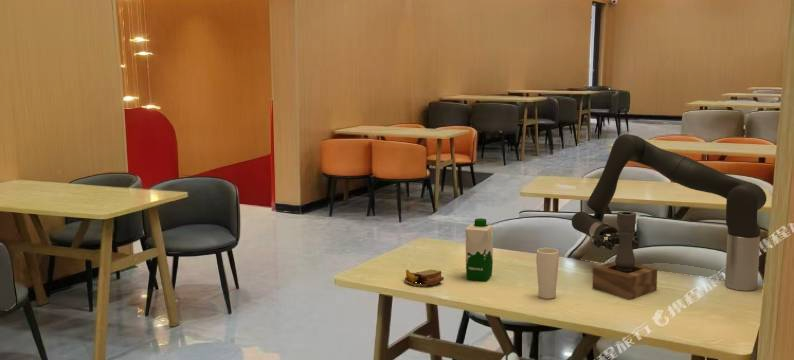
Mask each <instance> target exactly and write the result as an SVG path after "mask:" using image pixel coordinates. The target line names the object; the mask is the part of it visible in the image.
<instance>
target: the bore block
mask: <svg viewBox="0 0 794 360" xmlns="http://www.w3.org/2000/svg"><path fill="white" fill-rule="evenodd" d="M631 272H632V273H629V274H627V273H623V272H620V271H618V267H617V265H616V263H615V260H614V261H611V262H607V263H604V264H600V265H598V266H597V265H596V266H594V267H592V289H593V290H596V291H599V292H603V293H605V292H606V294H609V295H612V296H616V297H619V298H622V299H626V300H633V299H636V298H638V297H641V296H644V295H646V294H649V293H650V294H651V293H653V292H655V291H657V288H658V268H654V267H652V266H647V265H644V264H639V263H635V265H634V267H633V268H632V271H631Z"/></svg>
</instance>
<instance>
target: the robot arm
mask: <svg viewBox="0 0 794 360" xmlns="http://www.w3.org/2000/svg"><path fill="white" fill-rule="evenodd" d="M629 162H634V163H637V164H641V165H643V166H646V167H648V168H651V169H653V170H655V171H656V172H658V173H659V174H660V175H661V176H663V177H665V178H666V179H668V180H669V181H672V182H673V183H676V184H678V185H680V186H683V187H684V188H687V189H690V190H694V191H699V192H703V193H708V194H713V195H717V196H719V197H722V198H724V199H726V201H725V202H726V203H725V223H726V224H725V225H726V227H727V237H726V238H727V241H726V258H725V259H726V261H725V275H724V277H725V278H724V286H725V287H726V288H728V289H732V290H736V291H742V292H743V291H745V292H748V291H755V290H756V289H758V279H759V268H760V267H759V266H760V265H759V264H760V242H761V227H760V225H758V211H759V210H760V209H762V208H763V207H764V206H765V205H766V203H767V194H766V192H765V190H764V189H763V188H762V187H761V186H759V184H756V183H753V182H750V181H747V180H743V179H741V178H737V177H733V176H731V175H728V174H725V173H723V172H721V171H719V170H717V169H715V168H713V167H710V166H708V165H706V164H703V163H702V162H700V161H698V160H695V159H693V158H689V157H687V156H685V155H682V154H679V153H677V152H673V151H669V150H666V149H663V148H661V147H658V146H656V145H654V144H652V143H651V142H649V141H647V140H645V138H644V139H643V138H641V137H640V136H638V135H634V134H629V133H624V134H621V135H619V136H617V138H616V139H615V140H614V142H613V144H612V146H611V150H610V152H609V155H608V158H607V160H606V163H605V166H604V168H603V171H602V173H601V176H600V178H598V179H599V180H598V182H597V183H596V186H595V187H594V189H593V190H592V193H591V195H590V196H589V198H588V199H587V202H586V205H587V207H588V208H590V209H591V210H592V211H594V214H591V213H587V212H584V211H578V212H576V213H574V215H573V216H572V217H571V226H572V228H573V229H574V230H575V231H577V232H579V233H582V234H584V235H586V236H588V237H589V238H590V239H591V244H592V245H593V246H594V247H596V248H601V247H602V248H604V249H607V250H609V251H612V250H613V247H616V246H618V247H619V238H620V236H619V234H618V233H617V232H618V231H619V230H618V228H616V227H615V226H613V225H611V224H609V223H608V222H605V221H603V220H604V217H605V213H606V210H607V208H608V206H609V205H610V204H611V201H612V200H613V197H614V196H615V193H616V190H617V186H618V183H619V178H620V176H621V173H622V172H623V169H624V168H625V167H626V165H627V164H628V163H629ZM639 239H640V238H639V237H638V236H637V235H635V234H634V235H633V237H632V248H634V249H636V250H637V249H639V244H640V243H639V242H640V241H639Z"/></svg>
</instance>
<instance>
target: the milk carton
mask: <svg viewBox="0 0 794 360" xmlns="http://www.w3.org/2000/svg"><path fill="white" fill-rule="evenodd" d="M493 226H494V225H493V224H487V219H486V218H482V217H481V218H475V219H474V223H471V224H470V225H469V226H468V225H467V227H466V228H465V229H464V231H465V232H464V233H465V269H466V271H465V273H466V281H477V282H485V283H486V282H488V280H490V278H491V277H492V276H493V267H494V265H493V264H494V263H493V262H494V261H493V260H494V257H493V256H494V255H493V254H494V252H493V251H494V249H493V248H494V245H493V244H494V238H493V236H494V235H493V233H494V231H493Z"/></svg>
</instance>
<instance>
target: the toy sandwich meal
mask: <svg viewBox="0 0 794 360" xmlns="http://www.w3.org/2000/svg"><path fill="white" fill-rule="evenodd" d="M405 273H406V274H405V277H404V281H405V283H406V284H408V283H409V284H411V285H410V286H412V285H416V286H415V287H419V286H426V287H429V286H428V285H433V286H435V285H434V284H436V285H438V284H439V283H440V282H442V281H444V276H442V270H438V269H437V270H436V269H427V270H421V271H417V272H411V271H410V270H409V269H405ZM415 282H417V283H415ZM438 282H439V283H438ZM420 283H421V284H420ZM437 283H438V284H437ZM409 284H408V285H409Z"/></svg>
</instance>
